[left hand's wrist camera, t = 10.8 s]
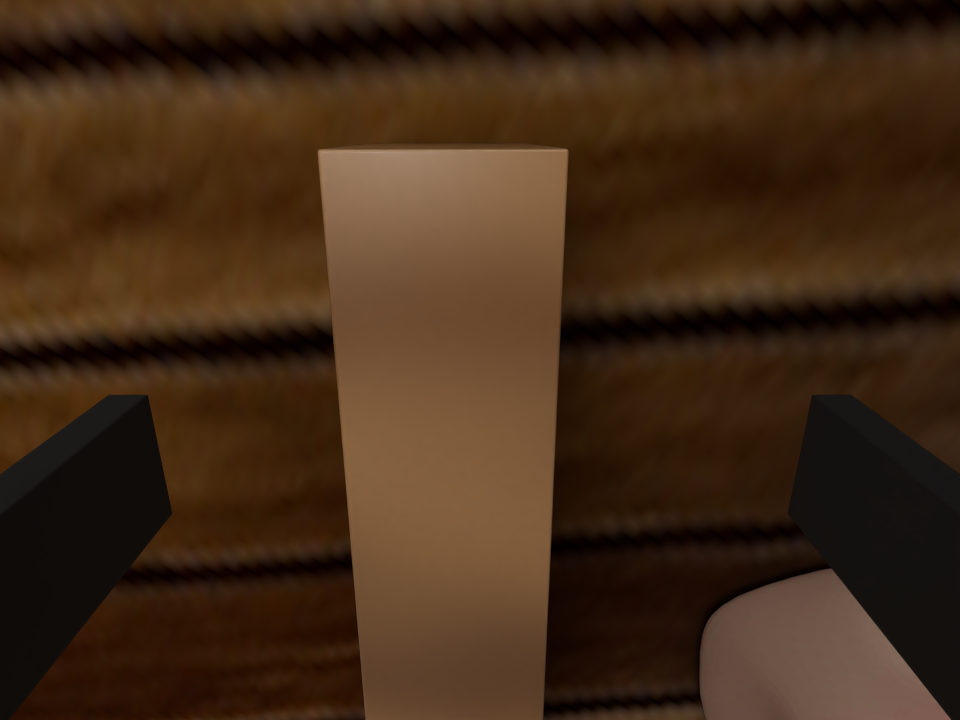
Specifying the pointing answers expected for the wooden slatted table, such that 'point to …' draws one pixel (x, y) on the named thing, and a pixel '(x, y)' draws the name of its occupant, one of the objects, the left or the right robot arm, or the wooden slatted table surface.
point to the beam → (448, 415)
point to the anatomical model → (805, 658)
